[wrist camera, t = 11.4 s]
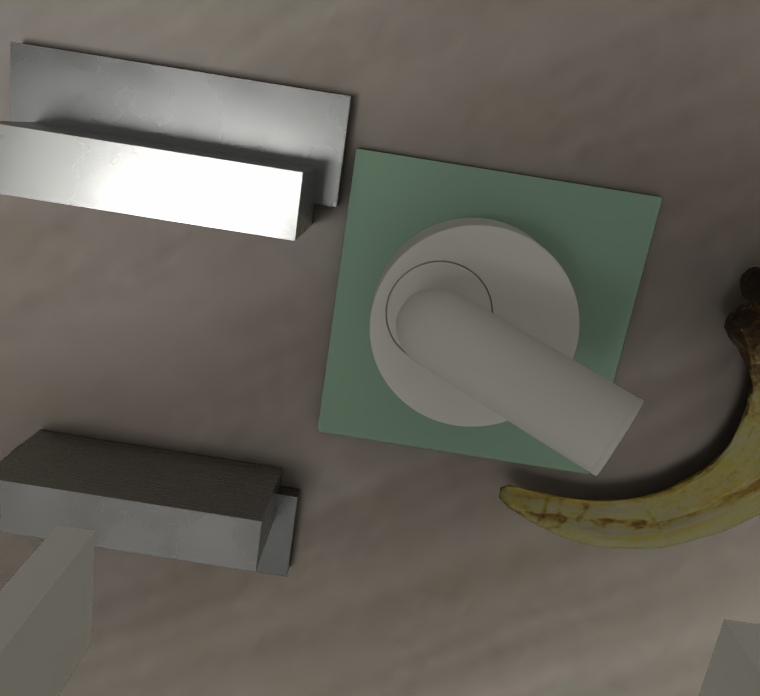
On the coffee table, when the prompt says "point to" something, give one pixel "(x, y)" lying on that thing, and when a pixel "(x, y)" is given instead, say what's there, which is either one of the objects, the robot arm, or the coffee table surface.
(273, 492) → the vise
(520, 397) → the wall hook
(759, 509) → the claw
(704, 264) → the coffee table surface
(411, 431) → the felt pad
